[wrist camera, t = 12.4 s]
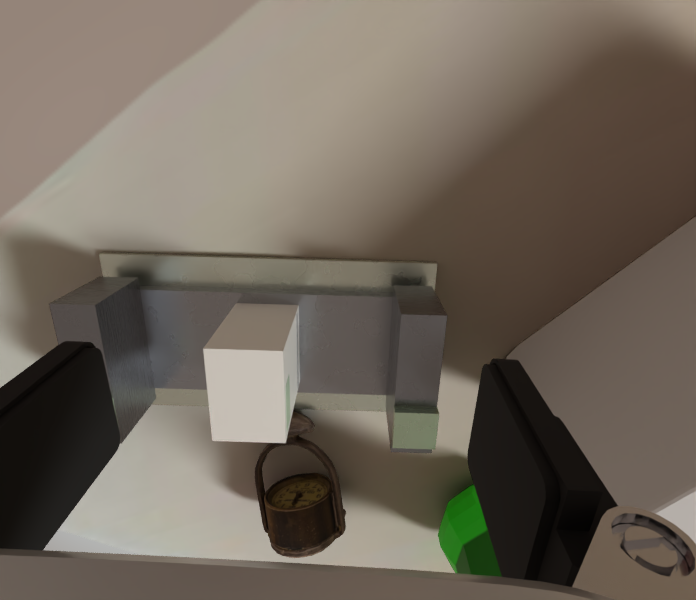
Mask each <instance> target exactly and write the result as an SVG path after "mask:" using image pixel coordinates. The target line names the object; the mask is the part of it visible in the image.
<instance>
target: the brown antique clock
mask: <svg viewBox="0 0 696 600" xmlns="http://www.w3.org/2000/svg"><path fill="white" fill-rule="evenodd" d="M314 428H315V425H314V423H313V422H312V420H311V419H310V418H308V417H307V416H305V415H303V414H300V413H297V412H294V411H293V413H292V418H291V422H290V427H289V431H288V435H287V440H286V443H270V444H269V445H268V446H267V447H266V448H265V449H264V450H263V452H262V453H261V454H260V456H259V459H258V461H257V464H256V467H255V483H256V489H257V495H258V500H259V506H260V511H261V517H262V522H263V527H264V530H265V532H266V533H268V536H269V538H270V542H271V546H272V548H273V549H274V550H275V551H276V552H277V553H278V554H280V555H282V556H286V557H291V558H300V557H307V556H311V555H314V554H316V553H319V552H321V551H323V550H324V549H325V548H327V547H328V546H329V545H330V544H331V543H332V542H333V541H334V540H335V539H336V538H338V537H340V536H341V535H342V534H343V533H344V531H345V527H346V525H345V518H344V517H345V515H346V511H345V509H343V505H342V498H341V491H340V485H339V479H338V476H337V472H336V470H335V467H334V465H333V463H332V461H331V460H330V459H329V457H328V456H327V455H326V454H325V453H324V452H323V451H322V450H321V449H320V448H319V447H318V446H317V445H315V444H314V443H312V442H310V441H308V440H306V439H303V438H301V437H299V436H298V435H299V434H304V433H309V432H312V431H313V430H314ZM281 445H296V446H300V447H303V448H305V449H308V450H309V451H310V452H312V453H313V454H315V455H316V456H317V457H318V459H319V460H320V461H321V462H322V463H323V464H324V466H325V467H326V469H327V471H328V473H329V475H330V479H331V480H330V479H329V478H328V477H326V476H324V475H321V474H318V473H310V474H300V475H294V476H291V477H287V478H285V479H282V480H280V481H278V482H277V483H275V484H273V485H272V486H271V487H270V488H269V489H268V490H267V492H266V494H265V489H264V483H263V477H262V465H263V462H264V460H265V458H266V456H267V454H268V453H269V451H270V450H272V449H273V448H275V447H277V446H281Z"/></svg>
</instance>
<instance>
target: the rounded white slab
mask: <svg viewBox="0 0 696 600" xmlns="http://www.w3.org/2000/svg"><path fill="white" fill-rule="evenodd" d="M506 359H513V360H518V361H519V362H520V363H521V365H522V366H523V368H524V369H525V371H526V373H527V374H528V376H529V377H530V379H531V380H532V382H533V383H534V385H535V387H536V388H537V390H538V391H539V393H540V394H541V396H542V397H543V399H544V401H545V402H546V404H547V405H548V407H549V408H550V410H551V411H552V413H553V415H554V416H556V417H559V418H560V419H561V420H562V422H563V423H564V424H565V426H566V427H567V429H568V431H569V432H570V434H571V435H572V437H573V438H574V440H575V441H576V443H577V444H578V446H579V447H580V449H581V450H582V452H583V453H584V455H585V456H586V458H587V459H588V461H589V462H590V464H591V465H592V467H593V469H594V470H595V472H596V473H597V475H598V476H599V478H600V479H601V481H602V482H603V484H604V485H605V487H606V488H607V490H608V491H609V493H610V494H611V496H612V497H613V499H614V500H615V502H616V503H617V505H618V506H632V507H636V508H641V509H645V510H647V511H650V512H652V513H655V514H657V515H660V516H661V517H663V518H665V519H666V520H668V521H670V522H671V523H673V524H675V525H676V526H677V527H678V528H680V529H681V530H682V531H683V532H685V533H686V534H687V535H688V536H689V537H690V538H691V539H692V540H693V541H694V543H695V544H696V216H695V217H694V218H693V219H691V220H690V221H688V222H687V223H686V224H684V225H683V226H682V227H680V228H679V229H677V230H676V231H675V232H673V233H672V234H671V235H669V236H668V237H666V238H665V239H664V240H662V241H661V242H659V243H658V244H657V245H655V246H654V247H653V248H651V249H650V250H648V251H647V252H646V253H644V254H643V255H642V256H640V257H639V258H637V259H636V260H635V261H633V262H632V263H631V264H629V265H628V266H626V267H625V268H624V269H622V270H621V271H620V272H618V273H617V274H615V275H614V276H613V277H611V278H610V279H609V280H607V281H606V282H604V283H603V284H602V285H600V286H599V287H597V288H596V289H595V290H593V291H592V292H591V293H589V294H588V295H586V296H585V297H584V298H582V299H581V300H580V301H578V302H577V303H575V304H574V305H573V306H571V307H570V308H569V309H567V310H566V311H564V312H563V313H562V314H560V315H559V316H558V317H556V318H555V319H553V320H552V321H551V322H549V323H548V324H547V325H545V326H544V327H542V328H541V329H540V330H538V331H537V332H536V333H534V334H533V335H531V336H530V337H529V338H527V339H526V340H524V341H523V342H522V343H520V344H519V345H518V346H517V347H516V348H515V349H514V350H513V351H512V352H511V353H510V354H509V355H508V356H507V358H506Z"/></svg>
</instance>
